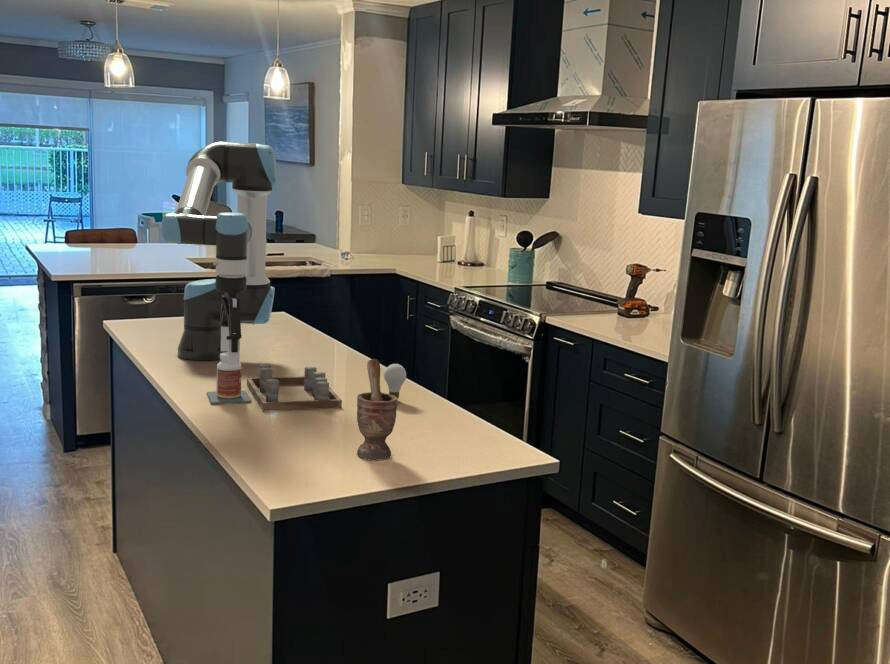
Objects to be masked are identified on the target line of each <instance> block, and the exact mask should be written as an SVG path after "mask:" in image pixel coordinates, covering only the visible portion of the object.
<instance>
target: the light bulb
mask: <svg viewBox="0 0 890 664" xmlns="http://www.w3.org/2000/svg"><path fill="white" fill-rule="evenodd" d="M406 371H407V370H405V368H404V367H403V365H401V364H399V363H392V364H389V365H388V366H387V367H386V368H385V369H384V373H383V378H384V381H385V382H386V385H387V387H388V394H391V395H394V396H396V397H397V400H399V398H400V391H401V388H402V386H403V384H404V383H405V381H406V379H407V372H406Z"/></svg>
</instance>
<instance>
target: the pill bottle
mask: <svg viewBox="0 0 890 664" xmlns="http://www.w3.org/2000/svg"><path fill="white" fill-rule="evenodd" d="M219 360H220V361H219V362H218V363H217V364H216V391H217V396H218V397H220V398H226V399H231V398H237V397H239V396H241V391H242V376H243V375H242V370H243V369H242V364H241V362H239V365H228V352H224V353H221V354H220V359H219Z"/></svg>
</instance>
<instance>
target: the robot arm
mask: <svg viewBox="0 0 890 664" xmlns="http://www.w3.org/2000/svg"><path fill="white" fill-rule="evenodd" d="M275 153H276V152H275V150H274V148H273V146H271V145H267V144H260V143H249V142H228V141H218V142H217V141H215V142H212V143H210V144H207V145H205V146H204V147H201V148H200V149H199V150H197V151H196V152H195V153H194V154H193V155H192V156H191V158H189V160H188V163H187V165H186V168H185V169H186V170H185V174H186V180H185V183H184V186H183V189H182V191H181V195H180V198H179V201H178V203H177V207H176V210H175V212H174V213H173V212H171V213H166V214H164V215H163V216H162V220H161V235H162V236H161V237H162V240H163V241H164V243H165V242H166V243H169V244H178V245H196V246H197V245H199V246H201V245H202V246H215V260H216V261H213V266H215V273H216V274H217V275H216V276H215V278H210V279H209V278H208V279H199V280H195V281H194V280H193V281H191V282H188V283H187V284H186V285H185V286H184V292H183V293H184V294H183V332H182V335H181V336H180V337H181V338H180V340H179V343H178V346H177V357H179V358H181V359H186V360H191V361H217V360H218V361H219V360H220V354H221V353H224V352H228V365H239V363H240V355H241V354H240V348H241V346H240V345H241V339H242V329H241V328H242V327H241V325H242V324H248V325H252V326H253V325H265V324H268V322H270V318H271V315H272V310H273V304H274V298H275V290H276V288H275V287H274V286H272V285H271V280H270V279H269V278H268V277H267V276H266V258H267V257H266V256H267V255H266V251H267V250H266V248H267V246H266V245H267V212H268V211H267V210H268V209H267V208H268V207H267V205H268V203H267V201H268V196H269V195H270V194H271V193H272V192H273V187H275V186H277V185H278V167H277V159H276V158H277V157H276V155H275ZM218 183H230V184H232V185H231V186H232V187H231V189H232V191H233V192H234V193H235V194H236V195H237V196H236V197H237V199H236V200H237V202H236V204H237V205H236V212H230V211H229V212H226V211H225V212H219V213H218V214H217V215H216V216H213V215H207V212H208V209H209V206H210V205H209V204H210V202H211V197H212V194H213V190H214V188H215V186H216V185H217V184H218Z"/></svg>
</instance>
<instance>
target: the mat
mask: <svg viewBox="0 0 890 664" xmlns="http://www.w3.org/2000/svg"><path fill="white" fill-rule="evenodd" d="M206 396H207V398H208V401H209V403H210V405H211V406H213V405H235V404H236V405H237V404H252V401H253V400H252V399H251V397H250V396H249V394H248V392H247V390H241V396H239V397H237V398H231V399H226V398H220V397H218V396H217V390H215V391H206Z"/></svg>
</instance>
